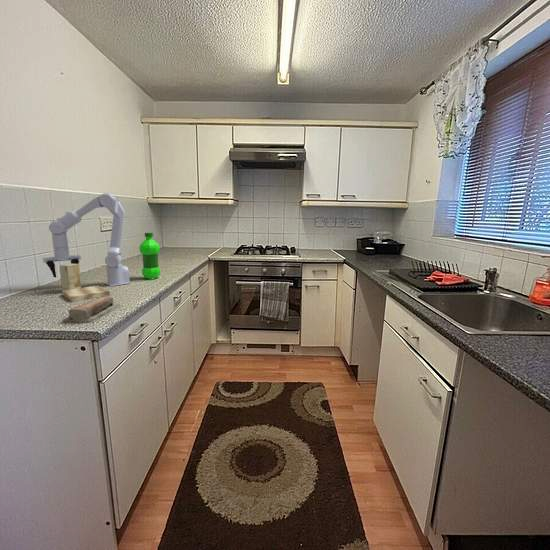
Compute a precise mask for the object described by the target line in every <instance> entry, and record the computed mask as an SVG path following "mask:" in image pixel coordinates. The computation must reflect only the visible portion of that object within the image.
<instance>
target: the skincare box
mask: <svg viewBox="0 0 550 550" xmlns="http://www.w3.org/2000/svg"><path fill="white" fill-rule="evenodd" d="M59 273H60V281H61V282H60V283H61V290H62V291H64V290H71V289H78V288H82V284H81V276H80V265H79V263H78V264H71V263H67V264H60V265H59Z"/></svg>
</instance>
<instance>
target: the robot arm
mask: <svg viewBox="0 0 550 550" xmlns="http://www.w3.org/2000/svg"><path fill="white" fill-rule="evenodd" d="M98 208H105V209H107V210H108V211H110V213H111V214H112V215H113V218H112V226H111V235H110V240H109V241H110V243H109V249H108V252H107V256H106V257H104V258H105V259H104V261H105V265H106V267H105V268H106V269H105V270H106V277H107V282H104V284H105V285H107V286H108V287H115V286H121V285H126V284H128V285H129V284H131V281H130V280H131V279H130V271H129V267H128V266H127V265H124V264H122V263H121V262H122V261H123V257H122V241H123V232H124V227H125V217H126V212H125V210H124V208H123V206H122V204H121V203H120V200H119V199H118V198H117V197H116V196H114V194H110V193H102V194H101V195H99V196H96V197H94V198H92V199H91V200H90V201H89V202H87V203H86V204H85V205H83V206H82V207H80V208H79V209H77V210H76V211H73V210H71V211H67V212H65V215H63V216H61V217H58V218H56V220H54V221H52V222H51V223H50V224H49V225H48V229H49V232H50V233H51V240H52V248H53V253H54V255H53V256H50V257H42V263H45V264H46V265H47V267H48V268H49V269H50V271H51V273H52V276H53V278H57V272H56V264H55V262H65V261H70V264H79V263H80V261H81V260H82V257H81V255H80V254H79V255H78V254H77V255H76V254H75V255H70V250H69V248H70V247H69V244H68V243H69V241H68V234H67V232H68V230H70V229H72V228H73V227H74V226H76V225H78V224H79V223H80V222H82V217H85V215H87V214H89V213H90V212H92V211H94V210H95V209H98Z"/></svg>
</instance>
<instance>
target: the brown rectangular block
mask: <svg viewBox="0 0 550 550" xmlns="http://www.w3.org/2000/svg"><path fill="white" fill-rule="evenodd" d="M119 306H120V307H121V303H120V302H116V303H115V302H114V298H113V297H112V296H110V295H109V296H103V297H98V298H92V299H90V300H89V301H86V302H84V303H82V304H80V305H79V304H78V305H77V306H75V307H73V308H70V309H69V310H68V317H65V318H63V319H62V322H64V321H79V322H78V323H93V322H95V321H97V320H99V319H100V317H101V318H102V317H104V316H106V315H108V314H110V313H111V312H113V311H115V310H116V309H118V308H119ZM98 318H99V319H98ZM96 319H97V320H96ZM94 320H95V321H94Z"/></svg>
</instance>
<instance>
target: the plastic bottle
mask: <svg viewBox="0 0 550 550" xmlns="http://www.w3.org/2000/svg"><path fill="white" fill-rule="evenodd" d="M144 237H145V240H143V241H142V242H141V243H140V245H139V248H138V249H139V253H140V254H141V255H142V265H143V266H142V270H141V275H142V276H143V278H146V279H147V278H148V279H147V280H153V279H152V278H156V279H157V278H158V277H159V276H160V275H161V273H162V272H161V268H160V267H159V255H158V254H160V249H161V247H160V245H159V243H158V242H156V240H154V239H153V237H154V233H153V232H144Z"/></svg>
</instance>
